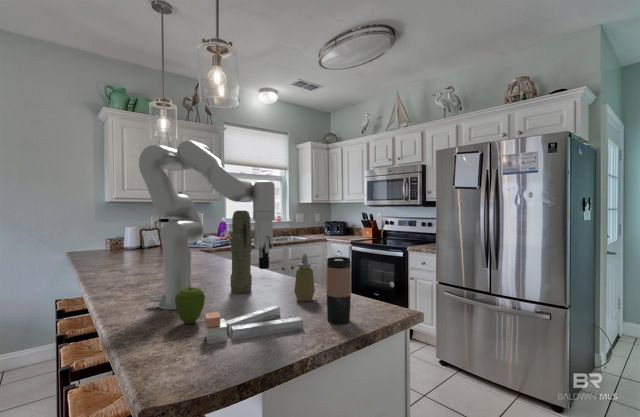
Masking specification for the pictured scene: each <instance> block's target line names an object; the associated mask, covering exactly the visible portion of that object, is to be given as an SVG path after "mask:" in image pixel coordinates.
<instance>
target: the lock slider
mask: <svg viewBox="0 0 640 417" xmlns="http://www.w3.org/2000/svg"><path fill="white" fill-rule="evenodd" d="M220 319H221V314H220V313H219V311H213V312H206V313H204V323H205V324H204V325H205V329H206V328H208V327H216V326H220Z"/></svg>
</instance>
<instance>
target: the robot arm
mask: <svg viewBox="0 0 640 417" xmlns="http://www.w3.org/2000/svg"><path fill="white" fill-rule="evenodd" d="M223 164H224V163H223V161H222V160H221V159H220V158H218V157H217V156H215V155H214V154H213V152H212V150H211V148H209V146H207V145H206V144H203V143H200V142H197V141H194V140H190V139H189V140H183V141H182V142H180V143H179V144H178V146H177V147H176V148H173V147H172V148H171V147H168V146H166V145H162V144H150V145H148V146H146V147H145V148H144V149H143V150H142V152H141V153H140V155H139V158H138V168H139V172H140V175H141V177H142V179H143V182H144V183H145V186H146V188H147V190H148V194H149V196H150V198H151V202H152V204H153V206H154V210H155V212H156V214H157V215H158V216H159V217H161V218H163V219H174V220H170V221H168V222H166V223H165V224H164V225H162V227H161V230H160V233H159V234H160V236H159V237H160V241H161V246H162V255H163V256H162V263H163V266H162V268H163V270H162V272H163V274H162V276H163V278H162V279H163V282H162V284H163V285H162V286H163V287H162V289H163V290H162V291H163V292H162V294H159V295H149V302H152V303H158V302H159V303H158V308H159V309H160V310H167V311H169V310H177V308H176V302H175V298H176V295H177V293H178V292H179V291H180V290H182V289H185V288H192V252H191V249H190V246H189V245H190V244H193V243H197V242H199V241H200V240H201V239H202V238H203V236H204V226H203V223H202V220H201V218H200V215H199V212H198V210H197V207H196V205H195V203H194V201H193V199H191V197H190V196H189V195H186V194H183V193H177V192H176V189H175V188H174V185H173V183H172V180H171V178H170V177H169V175H168V174H167V173H166V172H165V171H164V170H168V171H174V172H180V171H181V172H182V171H187V170H194V171H196V172H197V173H198V174H199V175H200V176H202V177H203V178H204V179H206V181H207V182H208V184H209V185H210V186H211V188H213V189H214V190H215V191H216V192H217V193H219V194H220V195H222V196H223V197H224V198H226V199H227V200H229V201H231V202H236V203H239V202H240V203H252V221H254V228H253V229H254V231H253V232H254V233H253V247H254V248H255V249H257V250H258V268H259V269H260V270H266V269H269V268H270V250H271V249H273V247H274V229H273V227H274V226H273V222H274V221H275V220H276V219H275V216H276V214H275V212H276V211H275V210H276V208H275V206H276V205H275V203H276V200H275V198H276V196H275V195H276V194H275V192H276V190H275V187H276V186H275V183H274V181H270V180H257V181H254V182H252V181H246V180H242V179H239V178H237V177H235V176H234V175H233V174H232V173H230V172H229V171H227V170H226V169H225V168H224V167H223Z"/></svg>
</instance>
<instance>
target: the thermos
mask: <svg viewBox="0 0 640 417" xmlns="http://www.w3.org/2000/svg"><path fill="white" fill-rule="evenodd" d="M231 219H232V223H231V226H232V228H231V229H232V232H231V233H232V235H231V238H230V253H231V275H230V293H231V294H233V295H246V294H249V293H251V292H252V285H253V283H252V281H253V279H252V278H253V276H252V273H251V263H252V262H251V259H252V258H251V257H252V256H251V254H252V250H253V249H252V248H253V247H252V241H253V240H252V235H251V231H252V230H251V227H252V225H251V215H250V212H249V211H248V210H235V211H234V212H233V214H232V218H231Z"/></svg>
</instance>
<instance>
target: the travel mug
mask: <svg viewBox="0 0 640 417" xmlns="http://www.w3.org/2000/svg"><path fill="white" fill-rule="evenodd" d="M326 263H327V264H326V267H327V268H326V307H327V308H326V309H327V310H326V312H327V322H328V323H329V324H331V325H335V326H336V325H338V326H339V325H341V326H342V325H347V324H349V323H350V320H351V319H350V317H351V298H352V297H351V287H352V286H351V285H352V284H351V281H352V280H351V258H350V257H346V256H345V257H344V256H331V257H328V258H327V259H326Z"/></svg>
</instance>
